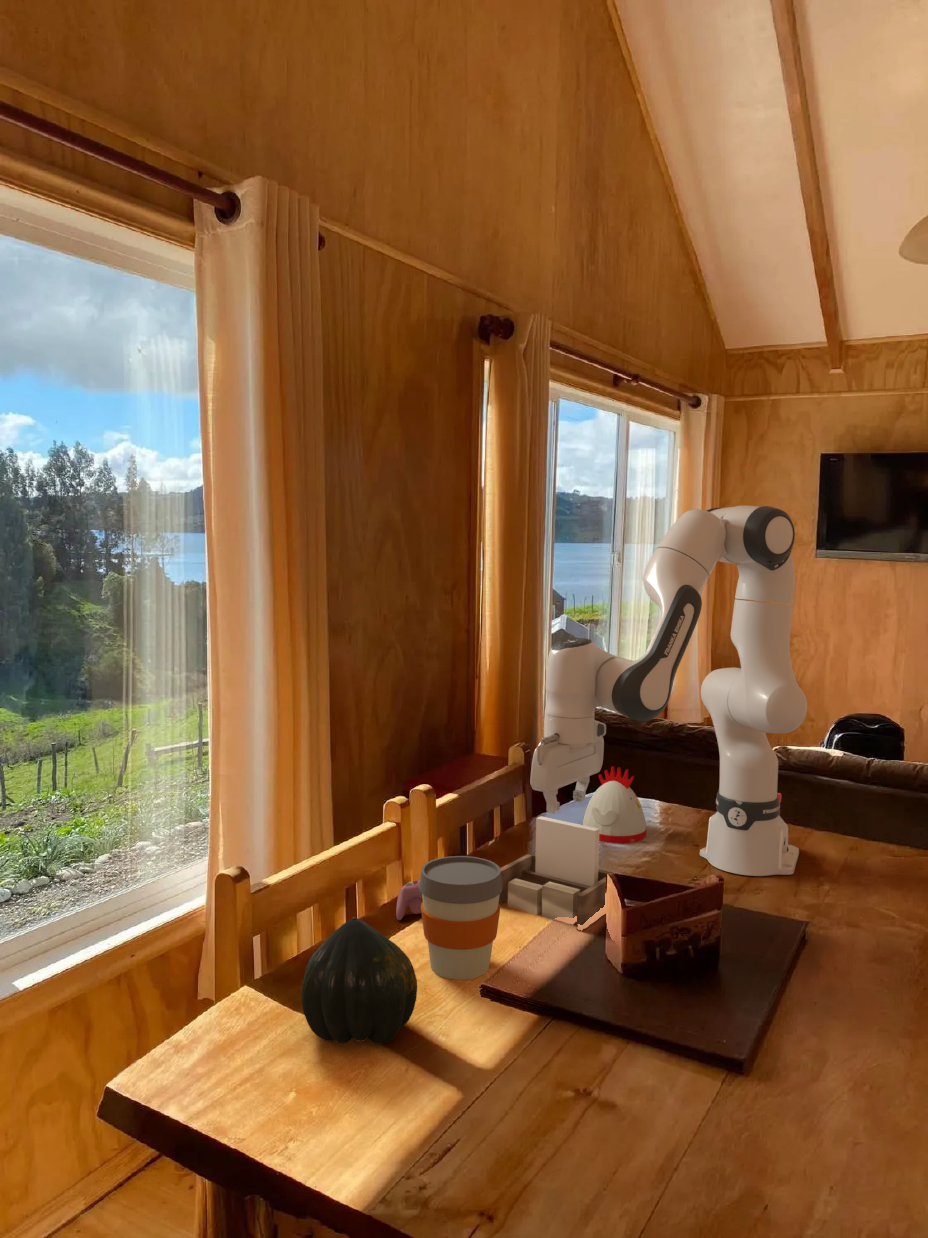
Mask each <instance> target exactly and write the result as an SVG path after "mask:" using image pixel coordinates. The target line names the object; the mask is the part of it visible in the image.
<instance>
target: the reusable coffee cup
mask: <svg viewBox="0 0 928 1238" xmlns="http://www.w3.org/2000/svg"><path fill="white" fill-rule="evenodd" d="M500 868H501V867H500V866H499V865H498V864H497V863H496V862H493V861H491V860H489V859H486V858H480V857H477V856H470V855H469V856H468V855H455V856H452V855H451V856H445V857H439V858H435V859H432V860H430V861H428V862H426V863H424V864H423V865H422V866H421V869H420V877H419V880H420V884H419V890H420V892H421V893H422V898H421V899H422V904H421V913H420V914H421V919H422V921H421V922H422V930H423V936H424V938H425V940H426V941H427V948H428V954H429V966H430V969H431V971H432V972H433V973H434V974H436V975H437V976H439V977H441V978H445V979H449V980H456V981H460V980H461V981H462V980H463V981H465V980H472V979H476V978H480V977H482V976H483V975H485V974H486V973H488V971H489V969H490V967H491V966H490V965H491V957H492V950H493V943H494V941H495V940H496V938H497V935H498V928H499V922H500V913H501V907H502V906H501V904H499V903H498V902H499V895H500V893H501V892H502V878H501V870H500Z"/></svg>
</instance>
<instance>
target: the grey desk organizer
mask: <svg viewBox="0 0 928 1238" xmlns="http://www.w3.org/2000/svg"><path fill="white" fill-rule="evenodd" d="M535 861H536V852H529V853H527V854H525V855H523V856H521V857H519V858H517V859H515V860H514V861H512V862H510V863H508V864H506V865H504V866H502V867H500V870H501V878H502V892H501V893H500V895H499V902H498V903H499V904H500V905H502V904H504V903H506V902H508V882H510V881H511V880H513V879H515V878H516V879H520V880H524V881H527V882H531V883H535V884H539V885H542V886H543V885H545V884H546V883H548V882H553V883H557V884H561V885H565V886H568V887H572V888H576V889H580V894H578V895H577V923H576V925H577V924H580V925H583V924H584V923H585V922H586V921H587V920H588V919H589V918H590V917H592V916H593V915H594V914H595V913H596V912H598V911H599V910H600V908H603V907H604V905H605V893H606V888H605V886H606V875H607V874H608V873H615V874H618V875H619V873H618V872H612V871H608V870H603V869H600V868H598V882H597V883H595V884H594V885H592V886H587V885H583V884H579V883H575V882H571V881H567V880H564V879H560V878H556V877H552V876H548V875H544V874H540V873H536V872H535Z"/></svg>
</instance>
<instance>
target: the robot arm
mask: <svg viewBox="0 0 928 1238" xmlns="http://www.w3.org/2000/svg"><path fill="white" fill-rule="evenodd" d="M795 535H796V534H795V527H794V523H793V522H792V518H791V517H790V515H789V514H788V513H787V512H786V511H785V510H783V509H780V508H778V507H774V506H768V505H763V506H756V505H736V506H730V507H729V506H727V507H713V508H710V509H707V510H706V509H705V510H704V509H699V508H697V509H696V508H694V509H690V510H687V511H685V512H684V513H682V515H681V516H679V517H678V519H677V520H676V521H675V522H674V523H673V524H672V526H670V528H669V529H668V531H667V532H666V533H665V535H664V536H663V537H662V539H661V540H660V542H659V543H658V545H657V547H656V548H655V550H654V551H653V553H652V555H651V556H650V558H649V560H648V561H647V564H646V565H645V566H646V567H645V569H644V572H643V576H642V582H643V587H644V590H645V592H646V594H647V596H648V598H649V599H650V600H652V602H653V603H654V604H656V605H657V606H658V607H659V608H660V617H659V618H660V619H659V620H658V621H659V622H658V624H657V626H656V628H655V631H654V632H653V635H652V638H651V639H650V642H649V643H648V646H647V648H646V650H645V653H644V654H643V655H642V656H641V657H640V658H638V659H636V660H631V659H627V658H625V657H621V656H616V655H615V654H612V653H610V652H608V651H605V650H604V649H602V648H600V647H598V645H596V644H595V643H594V642H593V640H592V639H589V638H584V637H574V638H566V639H562V640H558V641H557V642H556V643H554V644H553V645H552V646H551V647H550V650H549V652H548V653H549V654H548V657H547V663H546V672H545V692H546V698H547V700H546V705H545V708H544V721H543V722H544V723H543V737H542V738H541V739H540V742H539V744H538V745H537V747H536V748H535V749H534V752H533V755H532V762H531V770H530V779H529V780H530V781H529V783H530V786H531V788H532V790H534V791H537V792H542V794H543V797H544V799H545V802H546V812H547V813H550V814H556V813H559V811H560V805H561V804H560V801H558V798H557V795H558V793H559V789H561V788H563V787H566V786H568V785H571V784H573V783H575V782H576V785H575V789H574V790H573V791H572V799H573V801H575V802H578V803H581V802H583V801H585V800H586V791H587V789H588V786H589V783H590V776H593V775H595V774H598V773H600V771H601V769H602V768H603V767H602V766H603V761H604V752H605V751H604V750H605V748H604V747H605V741H604V736H605V735H606V733H607V725H606V723H603V722H601V721H599V720H596V719H595V711H596V709H597V708H598V707H599V708H603V709H606V710H608V711H611V712H614V713H618V714H621V715H622V716H624V717H627V718H628V719H631V720H633V721H636V722H641V723H643V722H649V721H651V720H654V719H655V718H657V717H658V716H659V715H660V714H662V713H663V711H664V710H665V709H666V707H667V706H668V704H669V701H670V698H671V694H672V690H673V687H674V680H675V677H676V674H677V672H678V669H679V666H680V664H681V661H682V659H683V657H684V654H685V652H686V649H687V647H688V645H689V642H690V640H691V638H692V637H693V636H692V635H693V633H694V631H695V629H696V626H697V624H698V621H699V617H700V616H701V612H702V611H701V610H702V605H703V600H702V593H703V591H704V588H705V586H706V584H707V582H708V579H709V578H710V576H711V574H712V572H714V569H715V567H716V565H717V563H718V562H721V563H726V564H734V565H736V566H737V570H738V580H737V584H736V589H735V596H734V604H733V610H732V617H731V618H732V619H731V626H730V627H731V628H730V639H731V643H732V644H733V646H734V647H735V649H736V651H737V654H738V657H739V662H740V663H739V664H740V667H723V668H722V667H721V668H718V669H714V670H712V671H710V672H709V673H708V674H707V675H706V676H705V678H704V679H703V680H702V682H701V683H702V684H701V688H700V698H701V701H702V703H703V705H704V707H705V708H706V710H707V711H708V714H709V715H710V717H711V718H710V719H711V721H712V725H713V727H714V733H715V737H716V740H717V745H718V752H719V753H718V754H719V788H718V791H717V793H716V799H715V806H716V807H715V809H716V812H715V813H714V814H712V815H711V816H710V817H709V819H708V827H707V828H708V829H707V839H706V846H705V847H703V848H701V849H699V856H700V857H702V858H704V859H706V860H707V861H708V863H710V864H711V866H713V867H715V868H716V869H719V870H721V871H725V872H728V873H731V874H736V875H740V876H741V875H743V876H752V877H753V876H754V877H764V876H765V877H767V876H774V875H783V876H784V875H785V876H786V875H793V874H794V873H795V869H796V865H797V862H798V859H799V855H800V850H799V849H800V848H799V847H797V846H795V845H793V844H789V826H788V824H786V822H785V821H784V819H783V818H782V817H781V816H780V815H781V809H780V808H781V802H782V799H783V797H782V793H781V792H778V781H779V780H778V779H779V759H778V756H777V754H776V752H775V751H774V750H773V748H772V746H771V744H770V743H769V740H768V737H767V734H789V733H791V732H794V731H796V730H797V729H798V728H799V727H800V726H801V725H802V724H803V723H804V721H805V719H806V716H807V714H808V713H807V712H808V700H807V696H806V694H805V693H804V691H803V690H802V689H801V686H799V684H798V681H797V679H796V676H795V673H794V669H793V665H792V657H791V650H790V641H791V640H790V638H791V629H792V619H793V618H792V617H793V611H794V603H795V592H796V590H795V589H796V586H795V585H796V578H795V577H796V576H795V575H796V574H795V562H794V558H793V556H792V555H791V553H792V550H793V548H794V544H795V539H796V538H795Z"/></svg>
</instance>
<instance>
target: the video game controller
mask: <svg viewBox="0 0 928 1238" xmlns="http://www.w3.org/2000/svg"><path fill="white" fill-rule="evenodd" d="M419 884H420V879H419V880H414V881H410V882H407V883H405V884H404V885H403V886H402V887H401V889H400V891H399V893H398V895H397V901H396V909H395V911H396V913H395V915H396V919H397V920H398V921H401V920H402V919H403V917H404V916H405V914H406V911H407V908H408V907H409V908H410V911H411V913H413V914H414V915H420V914H422V913H421V904H422V902H423V900H421V899H422V893H421V892H420V890H419Z"/></svg>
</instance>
